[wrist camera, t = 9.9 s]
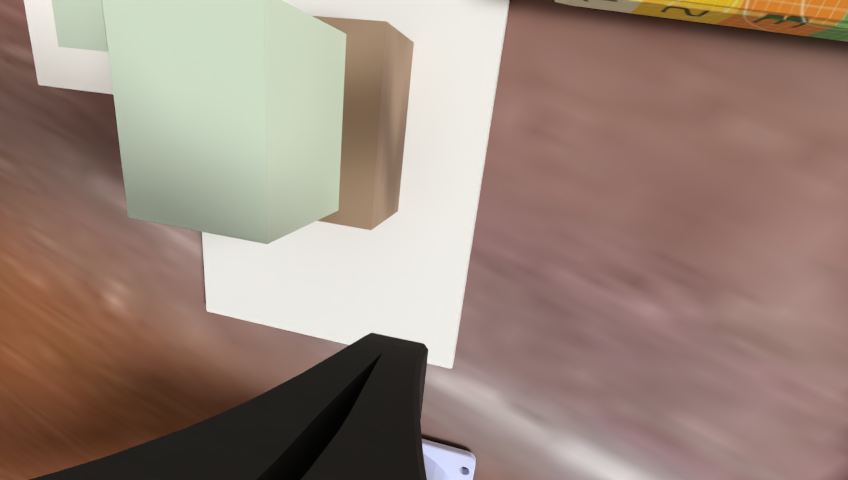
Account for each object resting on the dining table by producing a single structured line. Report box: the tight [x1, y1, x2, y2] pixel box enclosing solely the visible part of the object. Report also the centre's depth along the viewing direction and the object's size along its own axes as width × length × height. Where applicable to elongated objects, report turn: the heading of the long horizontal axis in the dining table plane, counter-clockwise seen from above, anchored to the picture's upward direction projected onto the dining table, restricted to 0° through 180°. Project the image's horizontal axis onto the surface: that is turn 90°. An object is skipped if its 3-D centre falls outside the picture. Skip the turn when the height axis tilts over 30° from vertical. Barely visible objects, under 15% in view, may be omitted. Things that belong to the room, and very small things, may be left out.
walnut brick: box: [313, 16, 414, 230], centre depth 16 cm, size 7×7×4 cm
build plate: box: [202, 0, 510, 369], centre depth 19 cm, size 18×14×1 cm
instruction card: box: [24, 0, 113, 94], centre depth 19 cm, size 8×10×1 cm
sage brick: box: [102, 0, 346, 244], centre depth 12 cm, size 6×4×4 cm
